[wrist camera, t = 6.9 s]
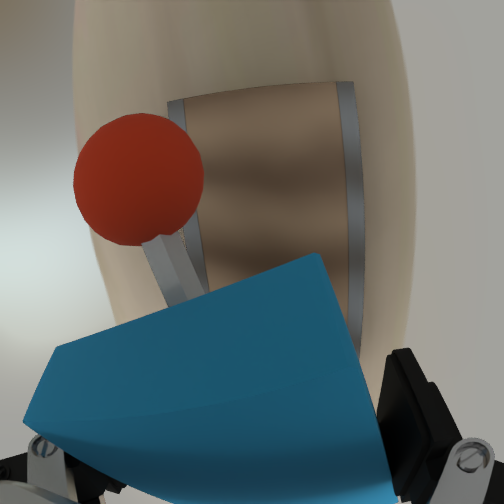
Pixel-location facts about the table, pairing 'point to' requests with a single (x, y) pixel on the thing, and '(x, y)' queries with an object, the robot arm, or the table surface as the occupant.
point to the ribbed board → (278, 186)
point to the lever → (208, 357)
